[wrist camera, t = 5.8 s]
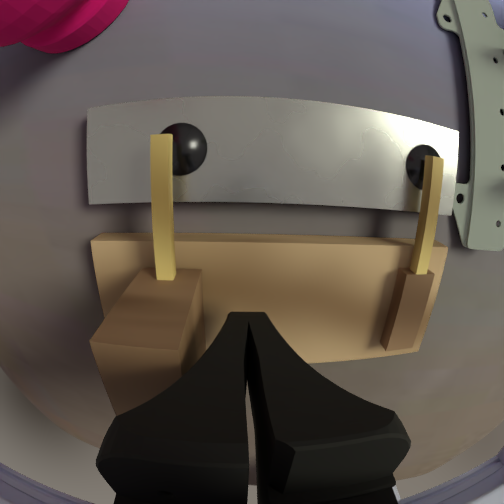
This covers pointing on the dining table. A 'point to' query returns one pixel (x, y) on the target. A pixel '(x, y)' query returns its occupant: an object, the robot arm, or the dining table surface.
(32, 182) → the dining table surface
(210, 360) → the robot arm
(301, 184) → the bolt strip
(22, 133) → the dining table surface
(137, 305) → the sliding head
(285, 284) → the trammel beam
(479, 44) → the metal bracket
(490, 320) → the dining table surface
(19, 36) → the pepper mill
